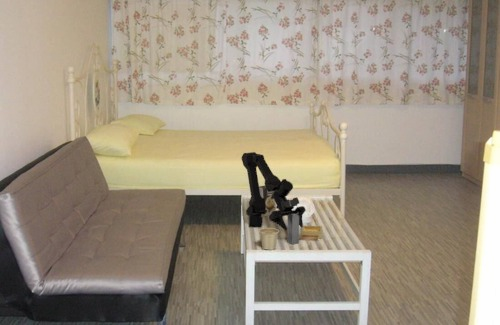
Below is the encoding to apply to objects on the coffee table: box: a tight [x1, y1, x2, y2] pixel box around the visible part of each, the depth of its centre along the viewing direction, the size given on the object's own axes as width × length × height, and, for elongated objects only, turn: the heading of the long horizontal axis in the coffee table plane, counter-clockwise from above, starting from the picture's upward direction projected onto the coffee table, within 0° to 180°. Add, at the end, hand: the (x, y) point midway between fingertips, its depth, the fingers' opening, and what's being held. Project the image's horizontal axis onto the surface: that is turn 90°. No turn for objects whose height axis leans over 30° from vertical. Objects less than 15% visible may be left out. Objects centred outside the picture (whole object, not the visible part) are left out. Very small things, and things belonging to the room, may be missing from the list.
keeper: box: [301, 225, 323, 240], centre depth 301 cm, size 10×10×4 cm
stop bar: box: [286, 214, 300, 246], centre depth 289 cm, size 4×4×14 cm
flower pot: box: [258, 227, 280, 251], centre depth 282 cm, size 9×9×9 cm
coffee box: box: [259, 185, 277, 217], centre depth 340 cm, size 9×6×16 cm
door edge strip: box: [284, 235, 319, 242], centre depth 295 cm, size 16×2×1 cm, turn 84°
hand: (294, 228), depth 288 cm, fingers open, 9 cm apart
